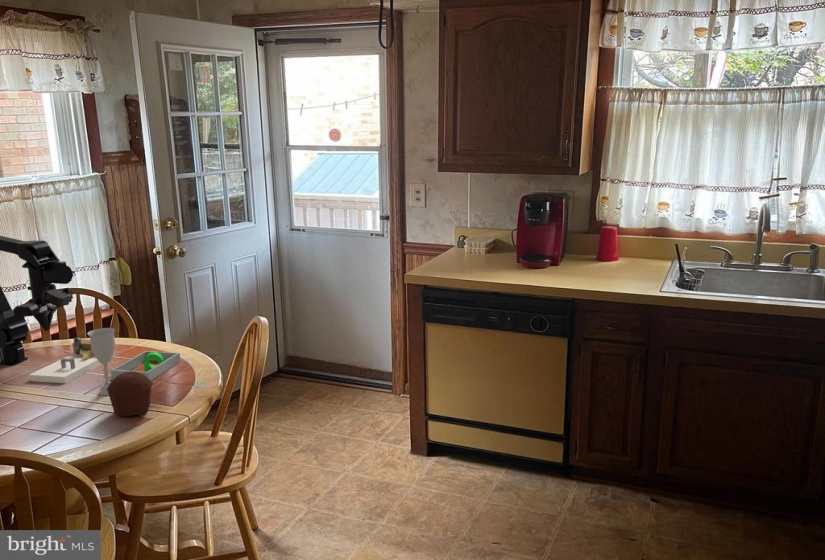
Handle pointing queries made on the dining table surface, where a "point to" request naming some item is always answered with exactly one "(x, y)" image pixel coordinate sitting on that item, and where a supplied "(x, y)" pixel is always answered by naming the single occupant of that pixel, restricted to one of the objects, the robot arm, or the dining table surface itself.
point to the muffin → (130, 393)
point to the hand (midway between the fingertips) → (47, 330)
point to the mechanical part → (150, 356)
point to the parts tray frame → (169, 362)
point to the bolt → (79, 349)
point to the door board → (67, 367)
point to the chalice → (103, 351)
